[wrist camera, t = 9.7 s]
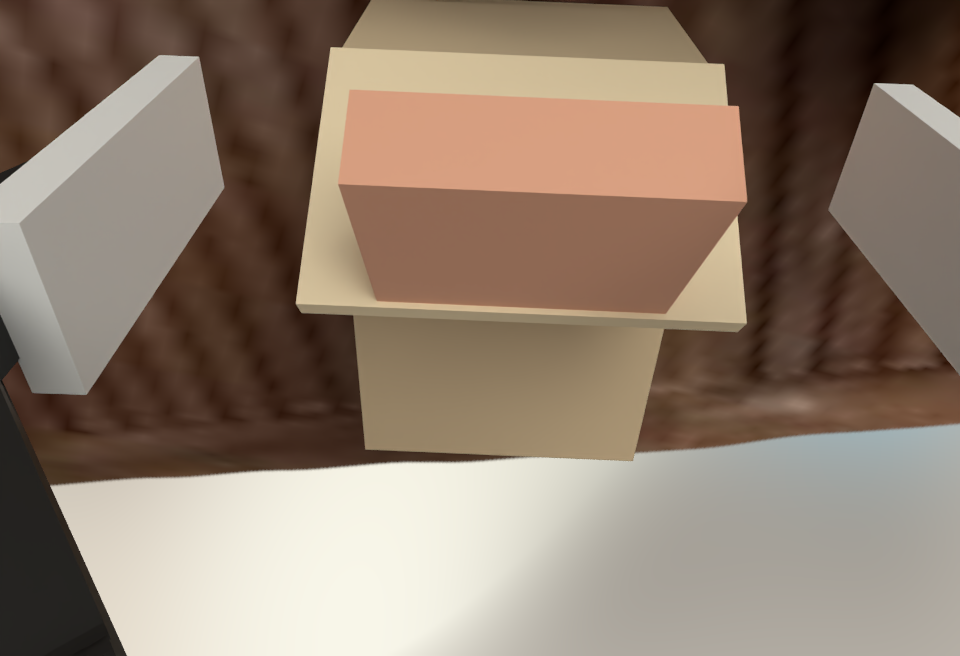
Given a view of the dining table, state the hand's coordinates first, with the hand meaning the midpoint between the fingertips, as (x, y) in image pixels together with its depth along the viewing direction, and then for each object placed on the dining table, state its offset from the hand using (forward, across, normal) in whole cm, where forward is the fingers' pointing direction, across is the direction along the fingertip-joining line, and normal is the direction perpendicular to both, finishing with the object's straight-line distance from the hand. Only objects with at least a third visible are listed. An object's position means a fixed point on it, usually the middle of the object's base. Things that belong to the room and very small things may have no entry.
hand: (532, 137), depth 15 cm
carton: (+23, +1, -12) cm, 26 cm away
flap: (+9, 0, -5) cm, 10 cm away
